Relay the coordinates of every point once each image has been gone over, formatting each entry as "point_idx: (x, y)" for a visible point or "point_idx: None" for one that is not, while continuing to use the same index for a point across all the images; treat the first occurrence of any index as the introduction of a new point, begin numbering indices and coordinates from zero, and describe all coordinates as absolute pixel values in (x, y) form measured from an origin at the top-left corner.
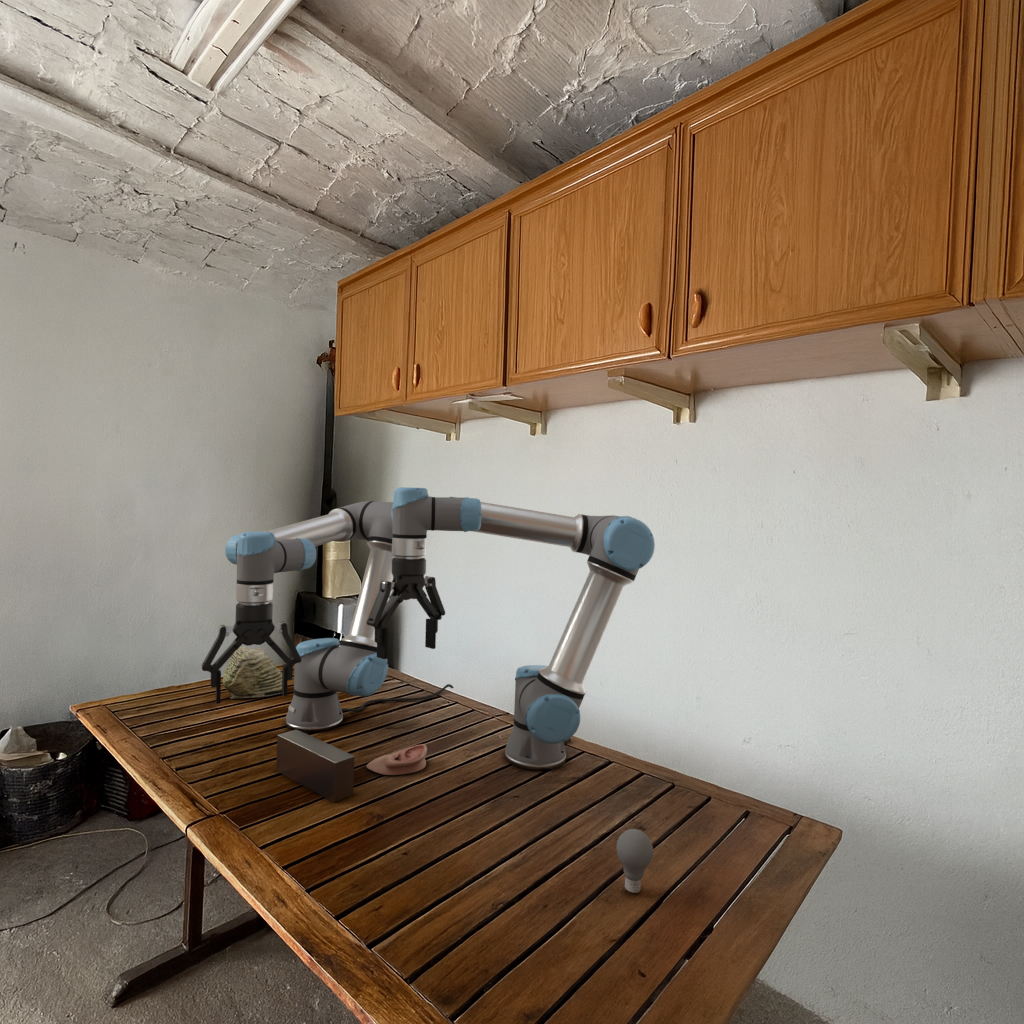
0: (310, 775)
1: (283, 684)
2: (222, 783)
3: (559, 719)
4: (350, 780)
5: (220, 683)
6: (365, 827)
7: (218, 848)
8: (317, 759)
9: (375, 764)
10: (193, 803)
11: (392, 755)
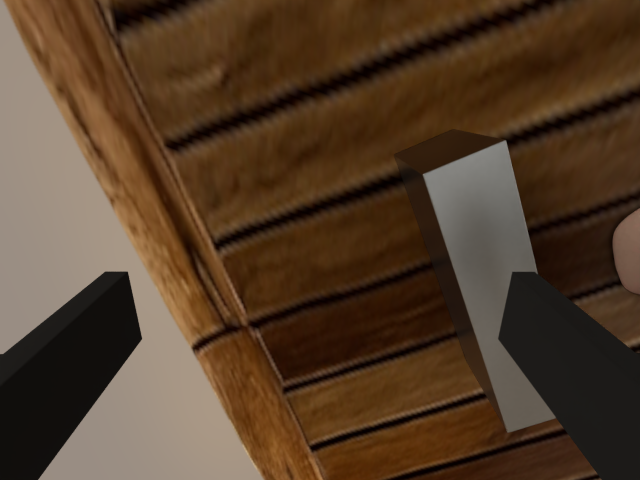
0: (453, 310)
1: (541, 375)
2: (252, 181)
3: None
4: None
5: (61, 442)
6: (480, 449)
7: (248, 430)
8: (481, 364)
9: (637, 253)
10: (192, 264)
11: None
